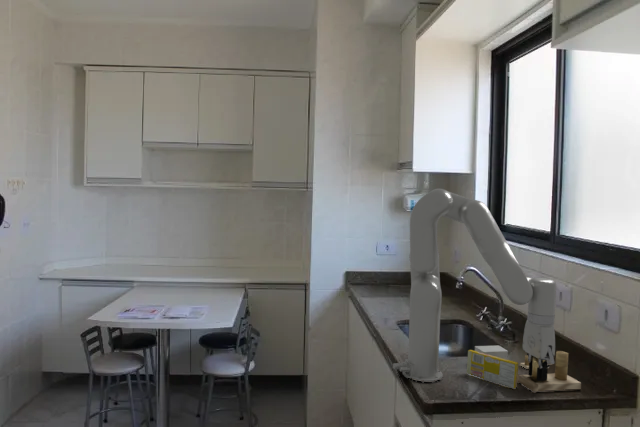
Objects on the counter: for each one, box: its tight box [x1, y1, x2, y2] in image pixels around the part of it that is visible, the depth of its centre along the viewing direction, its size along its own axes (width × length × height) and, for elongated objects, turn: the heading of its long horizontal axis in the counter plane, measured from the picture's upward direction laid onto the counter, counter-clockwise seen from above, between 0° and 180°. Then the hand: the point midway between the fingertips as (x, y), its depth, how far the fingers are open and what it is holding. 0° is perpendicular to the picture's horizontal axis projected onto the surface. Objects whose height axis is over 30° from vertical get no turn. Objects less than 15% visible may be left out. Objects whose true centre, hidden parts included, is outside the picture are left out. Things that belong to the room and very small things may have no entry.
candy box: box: [466, 349, 519, 388], centre depth 159 cm, size 16×2×8 cm, turn 44°
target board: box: [517, 350, 582, 391], centre depth 156 cm, size 16×8×10 cm, turn 101°
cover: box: [474, 345, 509, 360], centre depth 174 cm, size 9×6×6 cm, turn 101°
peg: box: [532, 357, 545, 383], centre depth 156 cm, size 3×3×8 cm
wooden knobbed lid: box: [519, 354, 530, 370], centre depth 173 cm, size 7×4×4 cm, turn 101°
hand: (537, 377), depth 156 cm, fingers closed on peg, 3 cm apart
